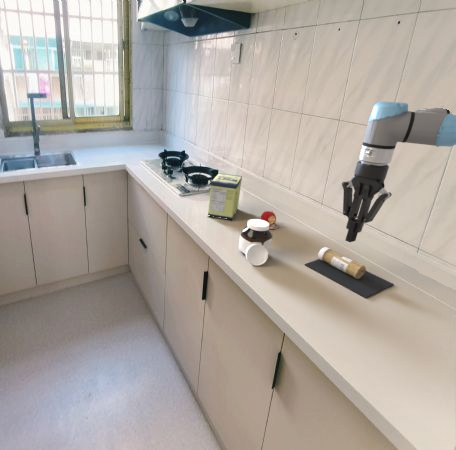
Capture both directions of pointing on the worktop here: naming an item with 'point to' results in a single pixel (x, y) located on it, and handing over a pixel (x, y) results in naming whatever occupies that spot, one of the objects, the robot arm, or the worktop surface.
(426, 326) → the worktop surface
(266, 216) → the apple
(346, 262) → the spice jar
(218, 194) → the protein box
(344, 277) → the mat
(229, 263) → the worktop surface
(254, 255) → the spread jar
